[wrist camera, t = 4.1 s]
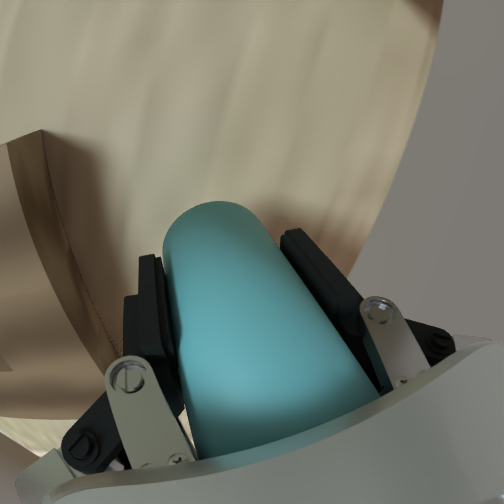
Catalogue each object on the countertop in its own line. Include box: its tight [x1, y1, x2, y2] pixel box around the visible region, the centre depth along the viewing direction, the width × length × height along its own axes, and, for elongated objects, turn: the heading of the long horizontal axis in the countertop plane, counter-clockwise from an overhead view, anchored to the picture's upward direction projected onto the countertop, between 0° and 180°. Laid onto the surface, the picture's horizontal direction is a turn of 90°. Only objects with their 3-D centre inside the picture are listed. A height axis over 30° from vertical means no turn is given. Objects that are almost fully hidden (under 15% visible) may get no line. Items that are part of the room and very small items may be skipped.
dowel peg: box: [163, 201, 381, 460], centre depth 8 cm, size 4×4×9 cm
